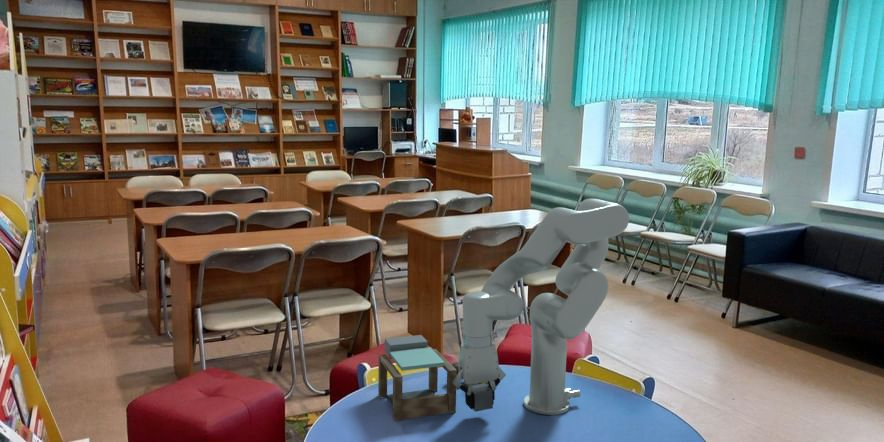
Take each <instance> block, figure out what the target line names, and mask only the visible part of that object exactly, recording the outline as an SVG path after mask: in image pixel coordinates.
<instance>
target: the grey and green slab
mask: <svg viewBox="0 0 884 442" xmlns="http://www.w3.org/2000/svg"><path fill="white" fill-rule="evenodd" d="M428 343H429V342H428V340H427V339H426V338H425V337H424V336H423V335H422V334H417V335H408V336H398V337H397V336H396V337H387V338H386V337H385V338H384V354H386V355H387V357H388V358H389V359H390V360H393V362H394V363H395V364H396V365H397V367H398V368H399V369H400V370H401V371H402V372H403V371H411V370H412V371H413V370H421V369H429V368H431V367H438V368H439V367H442V366H445V362H444V361H443V360H442V359H441V358H440V357H439V356H438V355H437V354H436V353H435V352H434V351H433V350H432V349H433V348H432V346H428V345H429V344H428Z"/></svg>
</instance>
